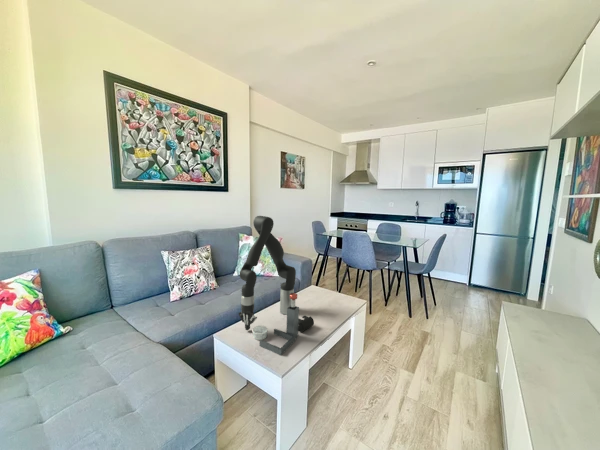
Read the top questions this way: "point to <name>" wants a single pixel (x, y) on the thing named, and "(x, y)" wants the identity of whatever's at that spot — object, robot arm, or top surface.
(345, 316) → the top surface
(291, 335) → the press
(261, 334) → the ramekin
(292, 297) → the ram plunger
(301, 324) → the end cap
